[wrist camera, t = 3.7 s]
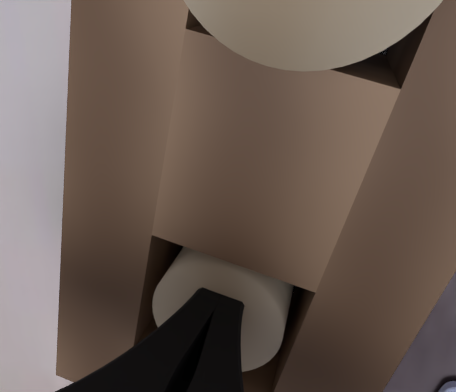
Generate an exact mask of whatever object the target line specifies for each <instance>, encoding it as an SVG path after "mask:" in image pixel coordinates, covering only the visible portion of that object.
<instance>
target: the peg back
mask: <svg viewBox="0 0 456 392" xmlns="http://www.w3.org/2000/svg"><path fill="white" fill-rule="evenodd" d="M202 287H203V288H206V289H208V290H211V291H214V292H217V293H219V294H222V295H225V296H228V297H231V298H233V299H236V300H239V301H242V302H243V304H244V306H245V307H244V310H243V316H242V325H241V365H242V372H244V371H250V370H253V369H256V368H258V367H260V366H262V365H264V364H266V363H267V362H269V361H270V360H271V359H272V358H273V357H274V356H275V354H276V353H277V352H278V350H279V348H280V346H281V343H282V340H283V335H284V330H285V326H286V321H287V316H288V311H289V306H290V302H291V297H292V292H293V287H294V285H292V284H289V283H286V282H284V281H281V280H278V279H275V278H272V277H269V276H267V275H264V274H261V273H258V272H255V271H252V270H250V269H247V268H244V267H241V266H238V265H235V264H233V263H230V262H227V261H224V260H221V259H218V258H216V257H213V256H210V255H207V254H204V253H201V252H199V251H196V250H193V249H190V248H187V247H183V248H182V250H181V251H180V253H179V254H178V255H177V257H176V258H175V260H174V261H173V263H172V264H171V266H170V267H169V269H168V270H167V272H166V273H165V275H164V276H163V278H162V279H161V281H160V282H159V284H158V285H157V287H156V290H155V292H154V296H153V302H152V308H153V315H154V319H155V322H156V325H157V327H159V326H160V325H162V324H163V323H164V322H165V321H166V320H167V319H169V318H170V317H171V316H172V315H173V314H174V313H175V312H176V311H177V310H179V309H180V308H181V307H182V306H183V305H184V304H185V303H186V302H187V301H188V300H189V299H190V298H191V297H192V295H193V294H194V293H195V292H196V291H197V290H198V289H199V288H202Z"/></svg>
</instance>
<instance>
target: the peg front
mask: <svg viewBox="0 0 456 392" xmlns="http://www.w3.org/2000/svg"><path fill="white" fill-rule="evenodd" d="M442 1H443V0H184V2H185V3H186V5H187V6H188V8H189V9H190V11H191V13H192V14H193V15H194V16H195V17H196V19H197V20H198V21H199V22H200V23H201V25H202V26H203V27H204V28H205V29H206V30H207V31H208V32H209V33H210V34H211V35H213V36H214V37H215V38H216V39H217V40H218V41H219V42H221V43H222V44H224V45H225V46H226V47H228V48H229V49H231V50H232V51H233V52H235V53H237V54H239V55H241V56H243V57H245V58H247V59H249V60H251V61H254V62H257V63H259V64H262V65H265V66H268V67H273V68H277V69H282V70H290V71H303V72H305V71H322V70H328V69H333V68H339V67H343V66H346V65H350V64H353V63H356V62H359V61H362V60H364V59H366V58H368V57H371V56H373V55H375V54H377V53H379V52H381V51H383V50H385V49H386V48H388V47H390V46H391V45H393V44H394V43H396V42H398V41H399V40H401V39H402V38H403V37H405V36H406V35H407V34H409V33H410V32H411V31H412V30H414V29H415V28H416V27H417V26H419V25H420V24H421V23H422V22H423V21H424V20H425V19H426V18H427V17H428V16H429V15H430V14H431V13H432V12H433V11H434V10H435V9H436V8H437V7H438V6H439V5H440V3H441V2H442Z"/></svg>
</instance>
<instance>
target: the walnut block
mask: <svg viewBox="0 0 456 392" xmlns="http://www.w3.org/2000/svg"><path fill="white" fill-rule="evenodd" d="M183 247H187V248H190V249H193V250H196V251H199V252H201V253H204V254H207V255H210V256H213V257H216V258H218V259H221V260H224V261H227V262H230V263H233V264H235V265H238V266H241V267H244V268H247V269H250V270H252V271H255V272H258V273H261V274H264V275H267V276H269V277H272V278H275V279H278V280H281V281H284V282H286V283H289V284H292V285H295V286H296V288H295V291H294V293H293V296H292V298H291V302H290V306H289V311H288V316H287V321H286V326H285V330H284V335H283V340H282V343H281V346H280V348H279V350H278V352H277V353H276V354H275V356H274V357H273V358H272V359H271V360H270V361H269V362H267V363H266V364H264V365H262V366H260V367H258V368H256V369H253V370H250V371H244V372H242V378H243V387H244V392H383V390H384V388H385V387H386V385H387V383H388V382H389V380H390V378H391V377H392V375H393V373H394V372H395V370H396V369H397V367H398V365H399V364H400V362H401V360H402V359H403V357H404V355H405V354H406V352H407V350H408V349H409V347H410V346H411V344H412V342H413V341H414V339H415V337H416V336H417V334H418V332H419V331H420V329H421V327H422V326H423V324H424V323H425V321H426V319H427V318H428V316H429V314H430V313H431V311H432V309H433V308H434V306H435V304H436V303H437V301H438V299H439V298H440V296H441V295H442V293H443V291H444V290H445V288H446V286H447V285H448V283H449V281H450V280H451V278H452V276H453V275H454V273H455V272H456V0H443V1H442V2H441V3H440V5H439V6H438V7H437V8H436V9H435V10H434V11H433V12H432V13H431V14H430V15H429V16H428V17H427V18H426V19H425V20H424V21H423V22H422V23H421V24H420V25H419V26H417V27H416V28H415V29H414V30H412V31H411V32H410V33H409V34H407V35H406V36H405V37H403V38H402V39H401V40H399V41H398V42H396V43H394V44H393V45H391V46H390V47H389V48H388V51H387V54H386V55H382V54H378V53H377V54H375V55H373V56H371V57H368V58H366V59H364V60H362V61H359V62H356V63H353V64H350V65H346V66H343V67H339V68H333V69H328V70H322V71H305V72H303V71H290V70H282V69H277V68H273V67H268V66H265V65H262V64H259V63H257V62H254V61H251V60H249V59H247V58H245V57H243V56H241V55H239V54H237V53H235V52H233V51H232V50H231V49H229V48H228V47H226V46H225V45H224V44H222V43H221V42H219V41H218V40H217V39H216V38H215V37H214V36H213V35H211V34H210V33H209V32H208V31H207V30H206V29H205V28H204V27H203V26H202V25H201V23H200V22H199V21H198V20H197V19H196V17H195V16H194V15H193V14H192V13H191V11H190V9H189V8H188V6H187V5H186V3H185V2H184V0H72V1H71V25H70V49H69V73H68V98H67V122H66V146H65V170H64V194H63V218H62V242H61V266H60V290H59V314H58V338H57V362H56V375H58V376H60V377H63V378H65V379H67V380H70V381H72V382H76V381H78V380H80V379H82V378H84V377H85V376H87V375H89V374H91V373H92V372H94V371H96V370H98V369H99V368H101V367H103V366H104V365H106V364H108V363H109V362H111V361H112V360H114V359H116V358H117V357H119V356H120V355H122V354H123V353H125V352H126V351H128V350H129V349H130V348H132V347H133V346H135V345H136V344H137V343H139V342H140V341H141V340H143V339H144V338H145V337H147V336H148V335H149V334H150V333H152V332H153V331H154V330H156V329H157V328H158V327H157V325H156V322H155V319H154V315H153V308H152V302H153V296H154V292H155V290H156V287H157V285H158V284H159V282H160V281H161V279H162V278H163V276H164V275H165V273H166V272H167V270H168V269H169V267H170V266H171V264H172V263H173V261H174V260H175V258H176V257H177V255H178V254H179V253H180V251H181V250H182V248H183Z"/></svg>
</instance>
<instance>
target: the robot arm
mask: <svg viewBox="0 0 456 392" xmlns="http://www.w3.org/2000/svg"><path fill="white" fill-rule="evenodd" d="M244 307H245V306H244V304H243V302H242V301H239V300H236V299H233V298H231V297H228V296H225V295H222V294H219V293H217V292H214V291H211V290H208V289H206V288H203V287H202V288H199V289H198V290H197V291H196V292H195V293H194V294H193V295H192V297H191V298H190V299H189V300H188V301H187V302H186V303H185V304H184V305H183V306H182V307H181V308H180V309H179V310H177V311H176V312H175V313H174V314H173V315H172V316H171V317H170V318H169V319H167V320H166V321H165V322H164V323H163V324H162V325H160V326H159V327H158V328H157V329H156V330H154V331H153V332H152V333H150V334H149V335H148V336H147V337H145V338H144V339H143V340H141V341H140V342H139V343H137V344H136V345H135V346H133V347H132V348H130V349H129V350H128V351H126V352H125V353H123V354H122V355H120V356H119V357H117V358H116V359H114V360H112V361H111V362H109V363H108V364H106V365H104V366H103V367H101V368H99V369H98V370H96V371H94V372H92V373H91V374H89V375H87V376H85V377H84V378H82V379H80V380H78V381H76V382H74V383H72V384H70V385H68V386H66V387H64V388H62V389H60V390H58V391H56V392H244V387H243V378H242V365H241V325H242V316H243V310H244ZM438 392H456V381H450V382H447V383H445V384H444V385H443V386H442V387H441V389H440V390H439V391H438Z"/></svg>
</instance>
